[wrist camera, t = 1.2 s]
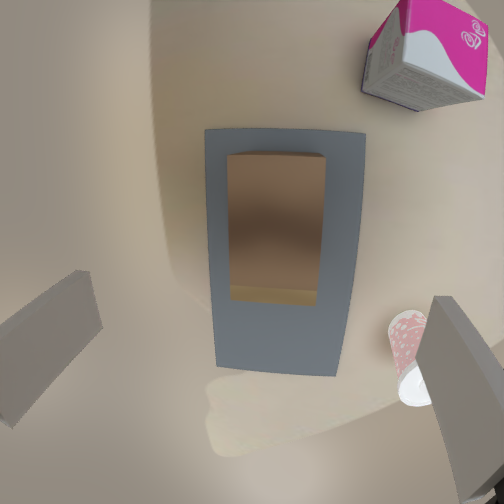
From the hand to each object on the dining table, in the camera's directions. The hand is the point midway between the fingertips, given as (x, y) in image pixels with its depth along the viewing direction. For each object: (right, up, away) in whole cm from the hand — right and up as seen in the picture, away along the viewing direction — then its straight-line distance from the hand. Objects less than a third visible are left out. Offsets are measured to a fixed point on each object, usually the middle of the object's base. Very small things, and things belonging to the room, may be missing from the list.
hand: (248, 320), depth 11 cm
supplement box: (+13, +18, +11) cm, 25 cm away
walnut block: (+3, +6, +16) cm, 18 cm away
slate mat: (+3, +1, +19) cm, 19 cm away
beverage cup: (+17, -6, +19) cm, 26 cm away
